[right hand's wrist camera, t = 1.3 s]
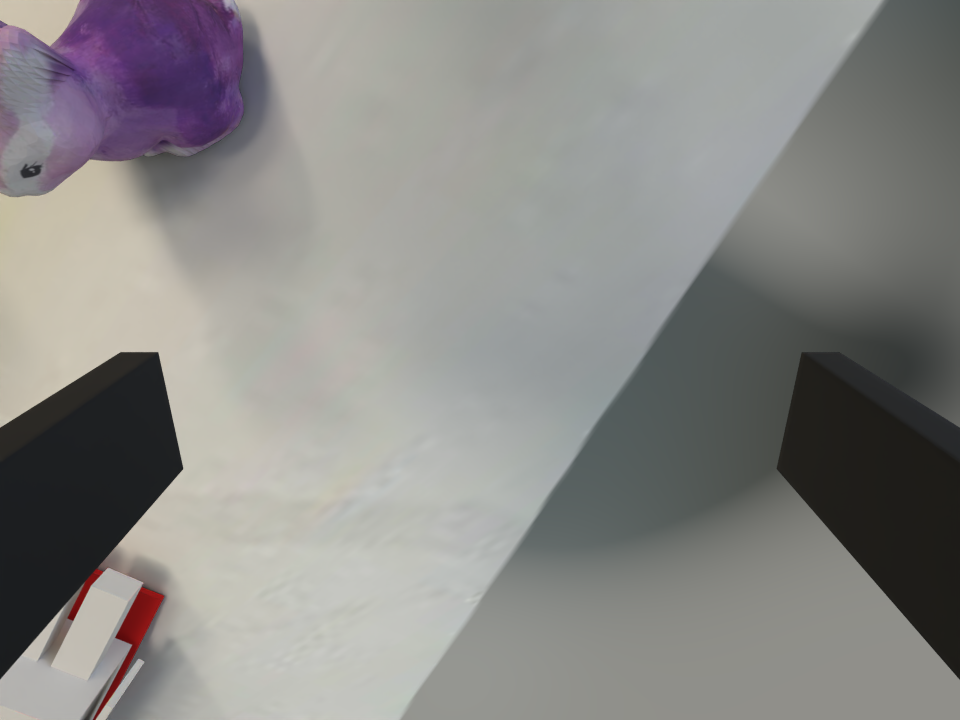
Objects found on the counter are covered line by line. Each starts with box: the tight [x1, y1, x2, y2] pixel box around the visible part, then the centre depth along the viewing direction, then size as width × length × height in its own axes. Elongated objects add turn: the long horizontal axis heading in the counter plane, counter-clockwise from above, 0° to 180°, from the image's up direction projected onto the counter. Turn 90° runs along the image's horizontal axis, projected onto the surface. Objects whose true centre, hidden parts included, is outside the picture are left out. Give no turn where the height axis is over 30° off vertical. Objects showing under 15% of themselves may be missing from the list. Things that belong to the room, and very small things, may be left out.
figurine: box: [0, 0, 244, 197], centre depth 27 cm, size 9×10×15 cm
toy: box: [0, 568, 164, 720], centre depth 45 cm, size 12×13×30 cm
